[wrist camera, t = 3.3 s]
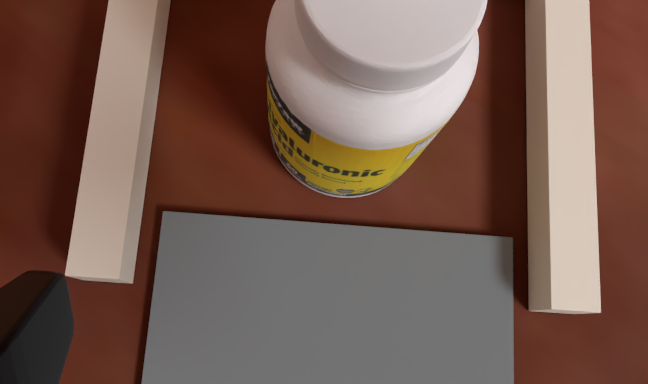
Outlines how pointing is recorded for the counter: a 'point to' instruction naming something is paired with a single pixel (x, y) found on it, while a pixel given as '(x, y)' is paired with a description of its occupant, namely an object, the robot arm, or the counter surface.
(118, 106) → the white u-shaped bracket
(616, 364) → the counter surface
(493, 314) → the mat
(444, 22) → the supplement bottle
